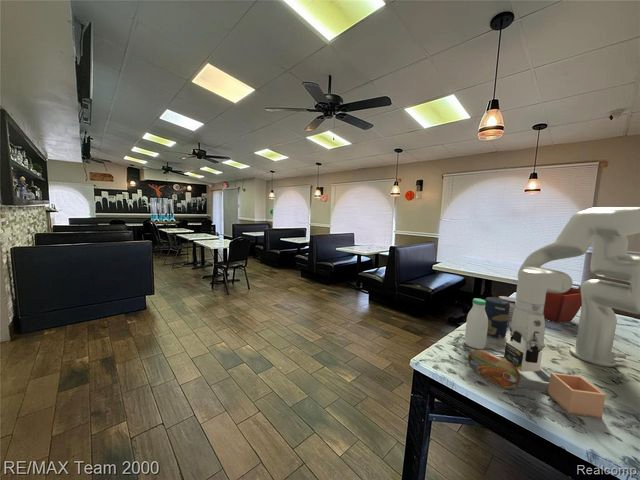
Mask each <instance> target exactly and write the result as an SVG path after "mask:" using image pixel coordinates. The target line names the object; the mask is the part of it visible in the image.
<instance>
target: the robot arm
mask: <svg viewBox="0 0 640 480" xmlns="http://www.w3.org/2000/svg"><path fill="white" fill-rule="evenodd" d="M636 234H640V206H622V207H621V206H619V207H618V206H616V207H615V206H604V207H603V206H599V207H591V208H587V209H584V210H581V211H578V212H575V213H574V214H572V216H571V217H570V219H569V220H568V221H567V223H566V225H565V226H564V228H563V229H562V230H561V232H560V233H559V235H558V236H557V238H556V239H555V241H553V242H551V243H548V244H547V245H544V246H542V247H540V248H538V249H537V250H535V251H533V252H531V253H530V254H529V255H528V256H527V257H526V258H525V260H524V261H523V262H522V264H521V266H520V267H519V269H518V272H517V285H516V292H515V298H516V299H515V308H514V312H513V316H512V321H510V322H509V323H508V324H509V331H510V333H509V335H510V339H509V341H513V335H514V331H517V332H519V333H520V334H521V336H522V338H523V340H524V341H526V342H527V346H528V350H527V351H526V359H525V361H526V362H531V363H537V361H538V354H539V353H540V351H542V352H543V349H544V348H545V347H546V343H545V342H544V341H545V331H546V330H545V329H546V320H545V319H544V315H543V312H544V305H545V298H546V293H547V292H550V293H564V292H567V291H568V290H569V289H571V288H572V287H573V278H572V276H570V275H569V274H568V273H566V272H563V271H561V270H555V269H551V268H546V267H543V265H546V264H547V263H550V262H553V261H557V260H565V259H570V258H575V257H581V256H583V255H585V254H586V253H587V251H588V250H589V248H590V247H591V245H593V246H592V250H591V251H592V252H591V258H590V264H589V265H590V267H589V269H590V272H591V273H592V274H594V275H595V276H598V277H603V278H606V279H611V280H617V281H623V282H628V283H629V285H628V284H624V283H619V282H614V281H609V280H604V279H596V278H594V279H592V278H591V279H588V280H585V281H583V283H581V285H580V291H581V300H582V305H581V307H580V315H579V320H578V321H579V322H578V327H577V334H576V339H575V341H576V342H575V346H570V347H569V353H570V354H571V355H573V356H574V357H576V358H577V359H580V360H582V361H585V362H587V363H590V364H593V365H596V366H601V367H606V368H607V367H608V368H609V367H610V368H611V367H612V368H613V367H616V366H617V361H616V360H615V359H616V358H618V359H626V357H627V356H626V354H625V353H624V352H617V351H615V350H614V349H613V347H614V341H615V335H616V329H617V324H618V319H617V315H616V313H615V312H614V310H613V309H615V310H618V311H622V312H626V313H631V314H634V315H635V314H636V315H640V256H637V255H631V254H628V246H629V240H628V236H632V235H636ZM530 340H534V341H530ZM531 344H535V346H533V347H532V345H531Z"/></svg>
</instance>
